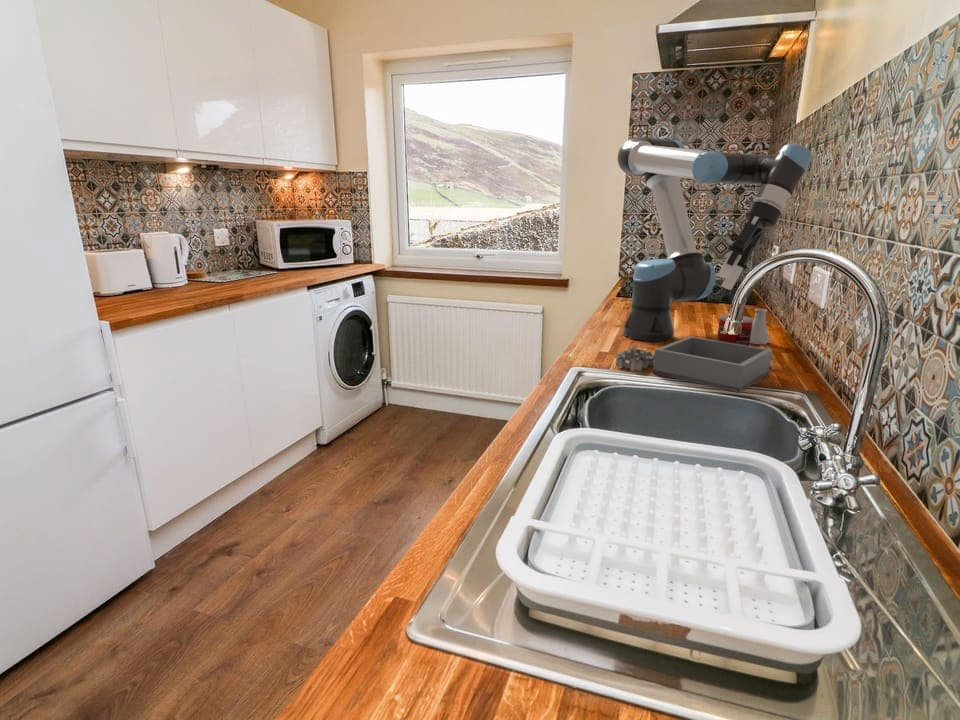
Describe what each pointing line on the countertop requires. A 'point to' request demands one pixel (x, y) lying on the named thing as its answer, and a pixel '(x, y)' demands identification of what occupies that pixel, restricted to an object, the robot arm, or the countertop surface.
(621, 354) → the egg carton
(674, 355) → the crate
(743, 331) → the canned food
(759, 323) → the flask
